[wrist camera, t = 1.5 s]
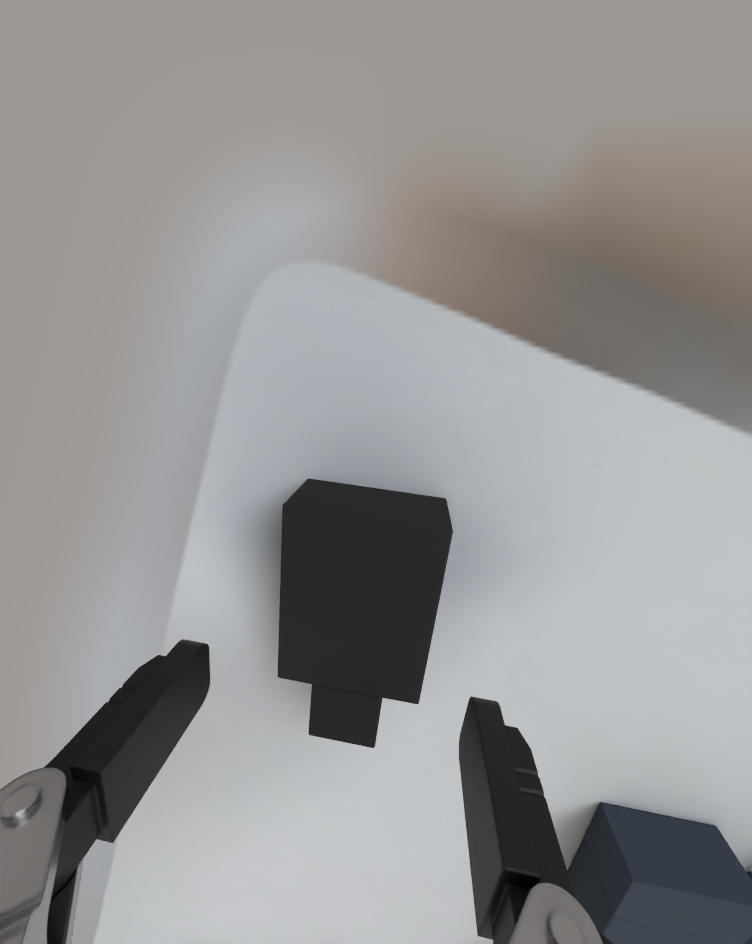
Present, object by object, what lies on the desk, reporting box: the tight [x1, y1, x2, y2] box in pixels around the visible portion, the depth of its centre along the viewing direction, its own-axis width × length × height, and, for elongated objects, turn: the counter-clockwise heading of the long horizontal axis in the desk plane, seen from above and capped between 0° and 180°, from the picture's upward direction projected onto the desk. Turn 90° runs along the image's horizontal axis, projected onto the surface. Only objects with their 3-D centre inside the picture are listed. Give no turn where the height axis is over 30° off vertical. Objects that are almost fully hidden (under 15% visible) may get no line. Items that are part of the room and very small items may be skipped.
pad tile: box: [278, 479, 453, 748], centre depth 15 cm, size 11×6×3 cm, turn 174°
